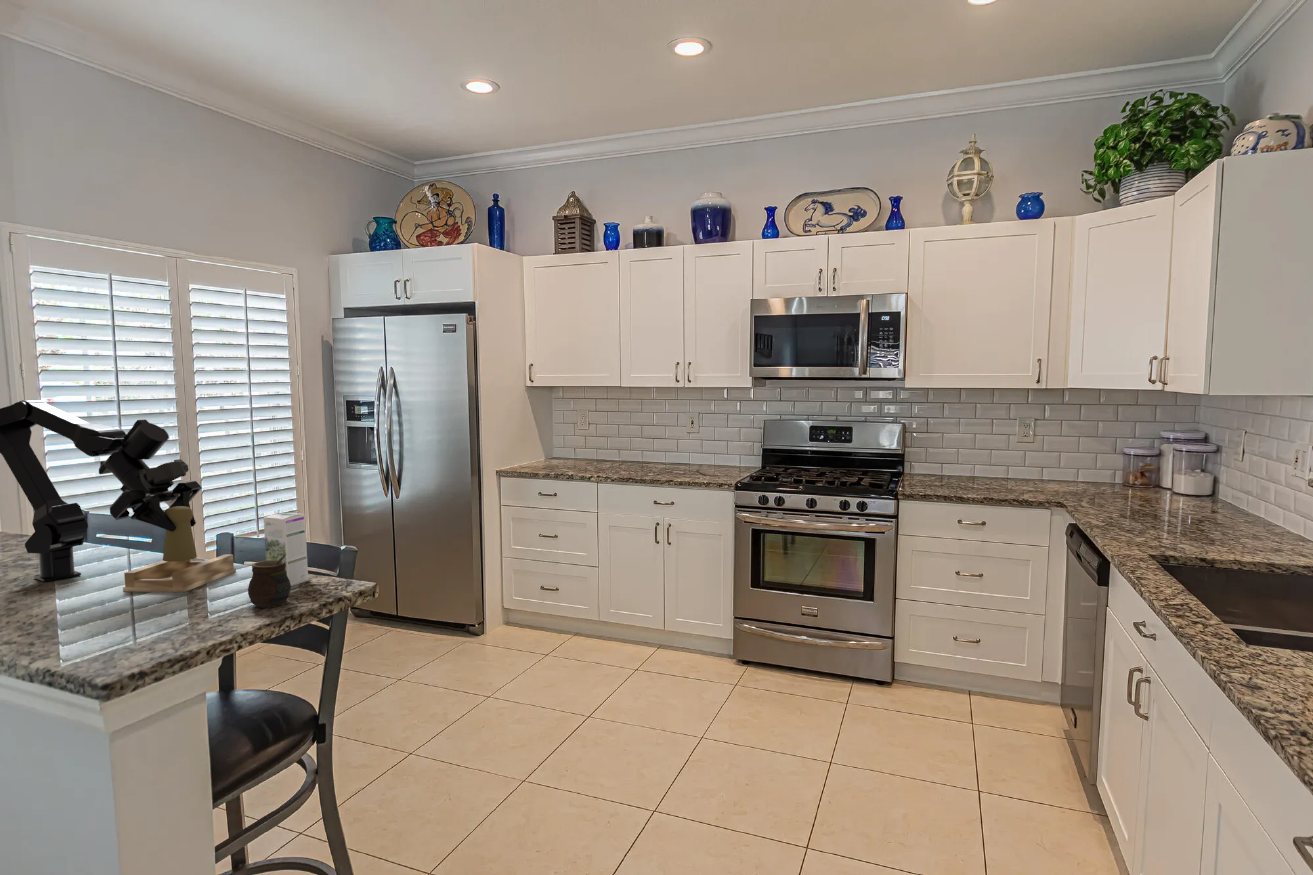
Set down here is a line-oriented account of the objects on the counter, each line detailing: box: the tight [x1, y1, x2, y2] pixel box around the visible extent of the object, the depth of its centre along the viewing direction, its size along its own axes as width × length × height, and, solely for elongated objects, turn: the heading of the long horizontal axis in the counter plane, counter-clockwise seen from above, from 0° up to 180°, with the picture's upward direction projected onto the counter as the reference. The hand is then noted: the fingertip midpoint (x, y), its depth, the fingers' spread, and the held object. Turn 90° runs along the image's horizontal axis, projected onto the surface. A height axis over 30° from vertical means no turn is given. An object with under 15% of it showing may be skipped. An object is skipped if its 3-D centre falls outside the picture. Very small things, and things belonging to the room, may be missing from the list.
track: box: [122, 554, 237, 593], centre depth 152 cm, size 16×13×4 cm
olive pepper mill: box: [162, 506, 198, 562], centre depth 151 cm, size 6×6×11 cm
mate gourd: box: [247, 554, 292, 609], centre depth 134 cm, size 7×8×10 cm
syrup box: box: [263, 512, 309, 587], centre depth 149 cm, size 6×6×14 cm
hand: (184, 527), depth 151 cm, fingers closed on olive pepper mill, 5 cm apart
